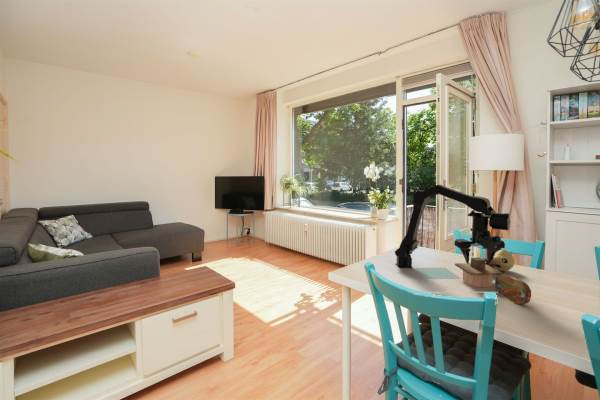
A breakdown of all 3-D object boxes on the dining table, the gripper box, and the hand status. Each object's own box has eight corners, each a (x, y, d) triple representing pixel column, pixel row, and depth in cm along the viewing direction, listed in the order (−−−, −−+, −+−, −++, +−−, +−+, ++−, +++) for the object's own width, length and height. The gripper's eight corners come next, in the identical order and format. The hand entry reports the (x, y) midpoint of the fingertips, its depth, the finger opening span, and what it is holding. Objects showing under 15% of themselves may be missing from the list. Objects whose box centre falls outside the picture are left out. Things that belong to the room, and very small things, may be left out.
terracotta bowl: (471, 288, 127) (472, 274, 126) (457, 278, 138) (458, 265, 137) (497, 288, 127) (498, 274, 126) (482, 278, 138) (482, 265, 137)
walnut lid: (471, 275, 125) (471, 263, 125) (454, 265, 138) (455, 254, 138) (502, 274, 125) (503, 263, 125) (483, 264, 138) (484, 254, 138)
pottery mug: (502, 278, 140) (497, 264, 137) (482, 285, 142) (476, 272, 139) (488, 263, 151) (483, 250, 149) (469, 271, 153) (464, 258, 151)
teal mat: (427, 279, 137) (427, 278, 137) (414, 268, 152) (415, 267, 152) (461, 279, 137) (461, 278, 137) (445, 268, 152) (445, 267, 152)
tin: (493, 291, 124) (495, 271, 123) (501, 291, 124) (502, 270, 123) (523, 308, 109) (525, 285, 108) (532, 307, 109) (533, 285, 108)
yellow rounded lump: (484, 271, 147) (485, 249, 146) (493, 266, 155) (494, 245, 154) (508, 277, 140) (509, 254, 139) (516, 271, 148) (517, 249, 146)
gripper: (468, 231, 122) (466, 269, 123) (515, 231, 122) (512, 269, 124) (454, 226, 133) (452, 261, 135) (497, 225, 133) (495, 260, 135)
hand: (478, 263), depth 131 cm, fingers open, 9 cm apart
